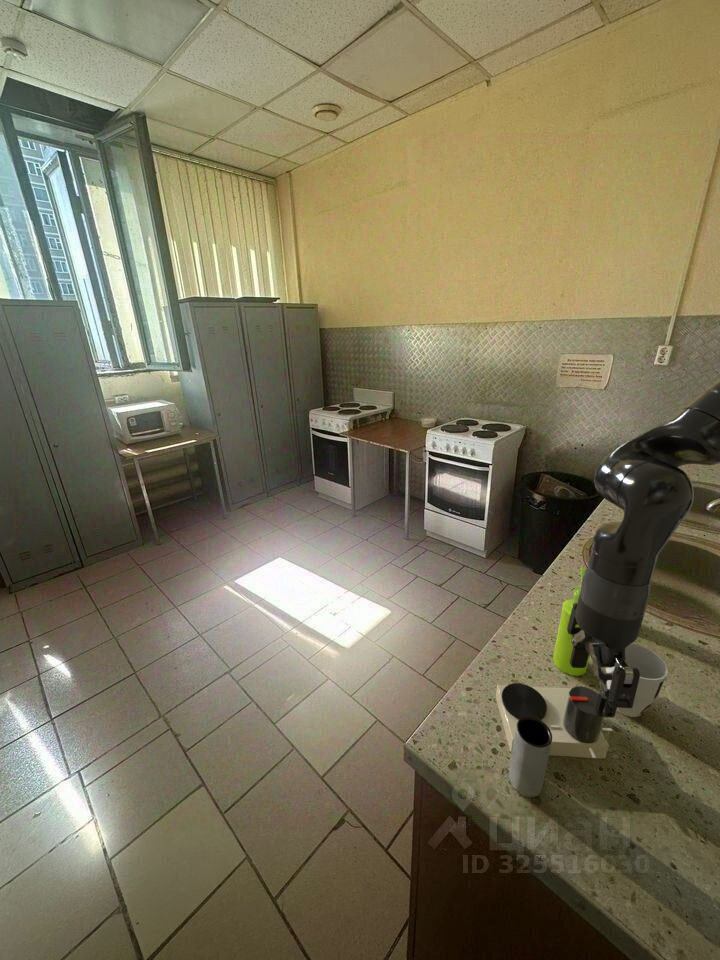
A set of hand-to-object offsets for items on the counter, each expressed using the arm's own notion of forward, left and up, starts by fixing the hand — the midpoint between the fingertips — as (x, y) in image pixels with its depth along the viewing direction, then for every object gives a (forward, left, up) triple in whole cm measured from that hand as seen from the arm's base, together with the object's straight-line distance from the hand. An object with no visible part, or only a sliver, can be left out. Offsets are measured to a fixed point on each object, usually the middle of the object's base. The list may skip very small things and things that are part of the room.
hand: (589, 688), depth 59 cm
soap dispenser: (-5, -17, -12) cm, 21 cm away
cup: (-11, -8, -12) cm, 18 cm away
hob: (+3, -1, -11) cm, 12 cm away
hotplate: (+7, -4, -8) cm, 12 cm away
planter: (+10, +6, -12) cm, 16 cm away
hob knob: (0, 0, -8) cm, 8 cm away
